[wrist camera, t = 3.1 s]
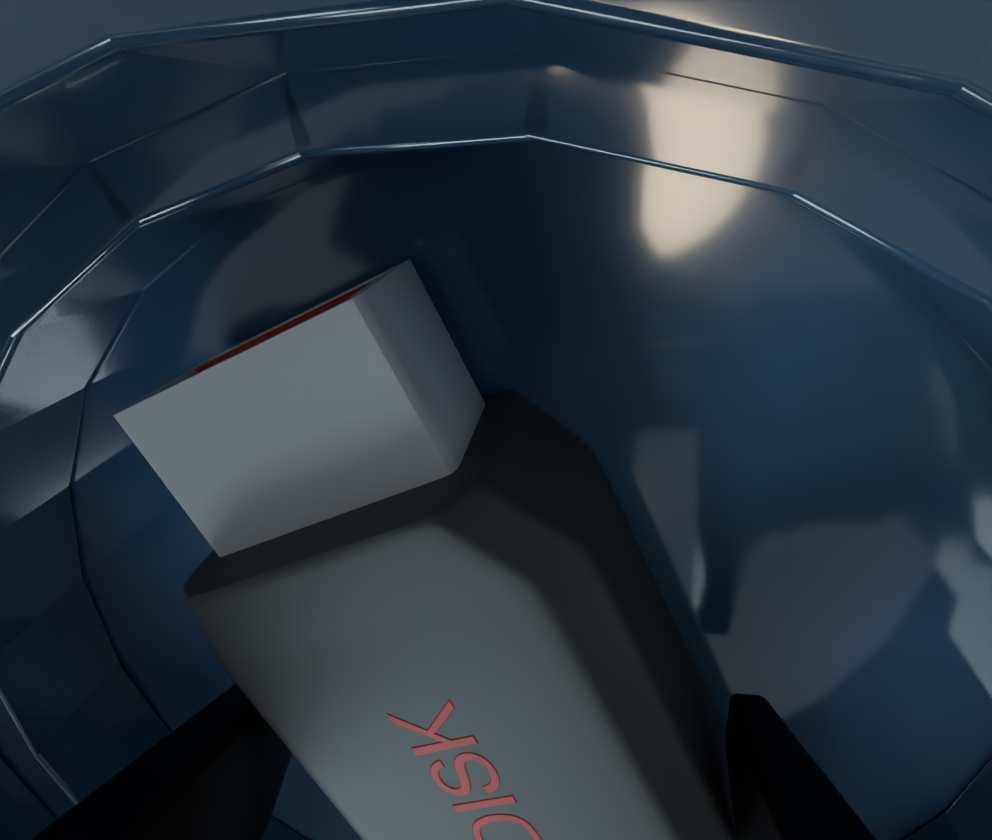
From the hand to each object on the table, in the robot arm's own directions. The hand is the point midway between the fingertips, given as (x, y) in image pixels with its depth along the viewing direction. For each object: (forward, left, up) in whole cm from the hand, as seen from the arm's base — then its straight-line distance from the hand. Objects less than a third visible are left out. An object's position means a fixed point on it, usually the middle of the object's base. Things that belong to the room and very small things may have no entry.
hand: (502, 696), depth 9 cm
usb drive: (0, 0, -1) cm, 1 cm away
